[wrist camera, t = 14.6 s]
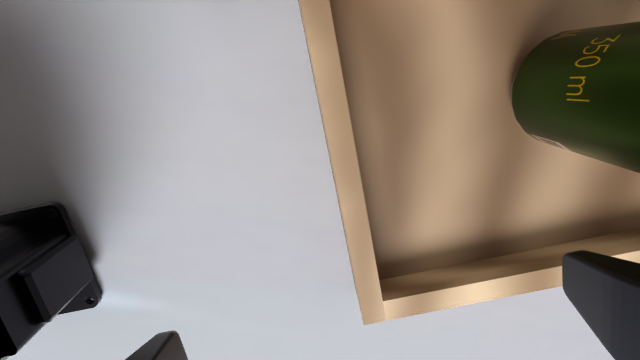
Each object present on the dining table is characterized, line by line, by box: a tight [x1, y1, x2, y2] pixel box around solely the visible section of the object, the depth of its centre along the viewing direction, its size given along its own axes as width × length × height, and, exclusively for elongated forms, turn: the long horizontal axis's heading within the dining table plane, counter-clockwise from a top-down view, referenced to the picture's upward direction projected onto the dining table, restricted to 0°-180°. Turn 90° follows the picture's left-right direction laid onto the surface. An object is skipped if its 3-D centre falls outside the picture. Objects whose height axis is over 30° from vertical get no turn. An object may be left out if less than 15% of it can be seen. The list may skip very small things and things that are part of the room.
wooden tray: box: [298, 0, 640, 325], centre depth 19 cm, size 18×18×3 cm
